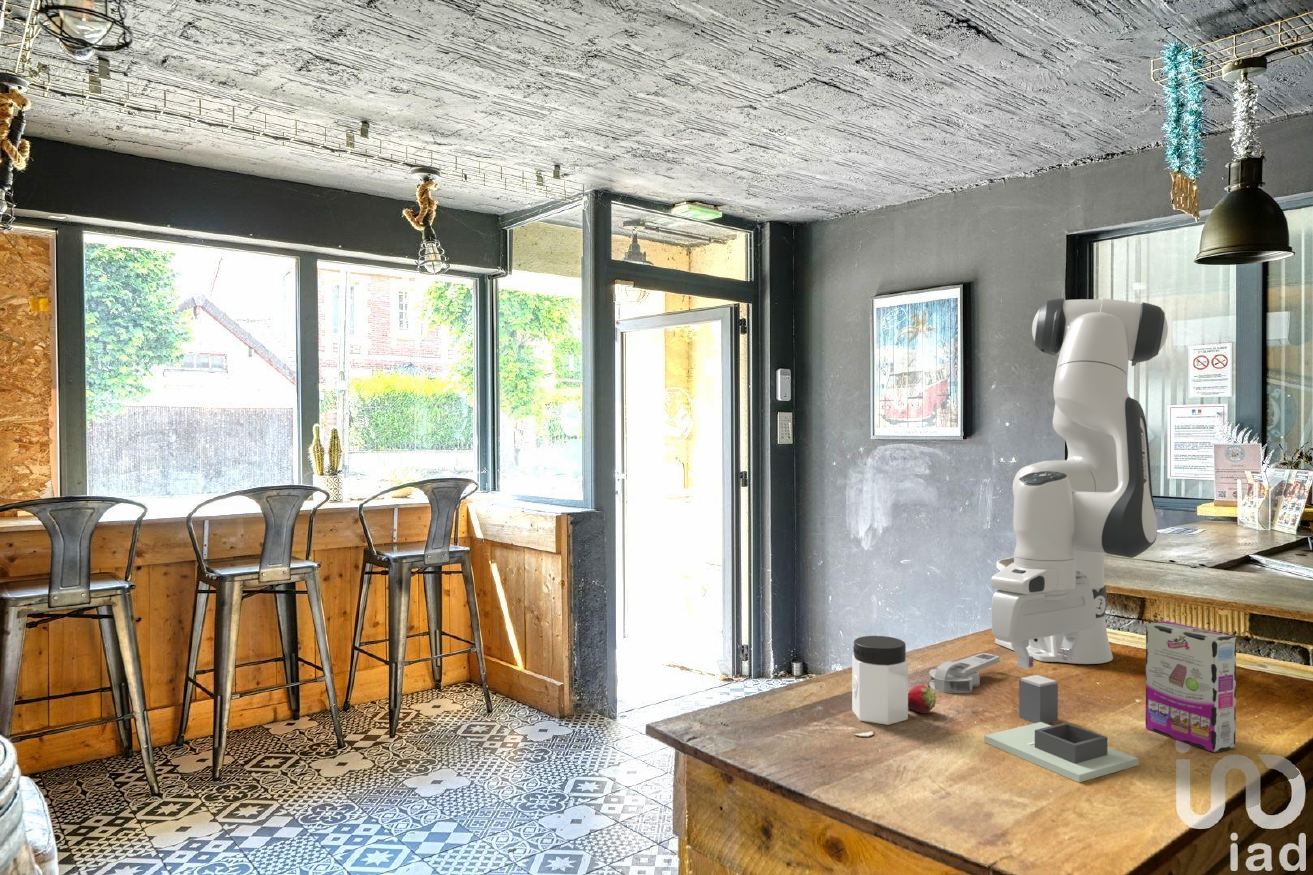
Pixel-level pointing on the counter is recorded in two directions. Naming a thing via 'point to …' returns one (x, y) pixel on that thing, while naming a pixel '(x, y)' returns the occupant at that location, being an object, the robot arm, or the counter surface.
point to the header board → (1063, 750)
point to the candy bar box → (1191, 685)
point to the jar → (880, 680)
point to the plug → (1038, 699)
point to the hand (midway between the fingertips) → (1046, 663)
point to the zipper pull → (960, 673)
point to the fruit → (921, 699)
